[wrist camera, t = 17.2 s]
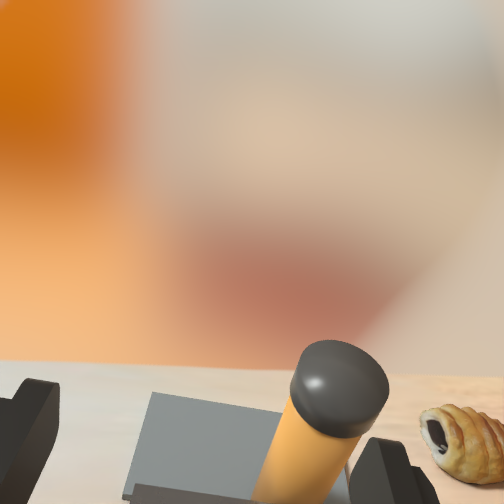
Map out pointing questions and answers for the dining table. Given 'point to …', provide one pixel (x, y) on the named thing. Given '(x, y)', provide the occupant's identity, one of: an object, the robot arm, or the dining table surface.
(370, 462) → the robot arm
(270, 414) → the mat
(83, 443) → the dining table surface
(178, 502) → the housing
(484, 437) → the pastry
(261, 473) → the plug
